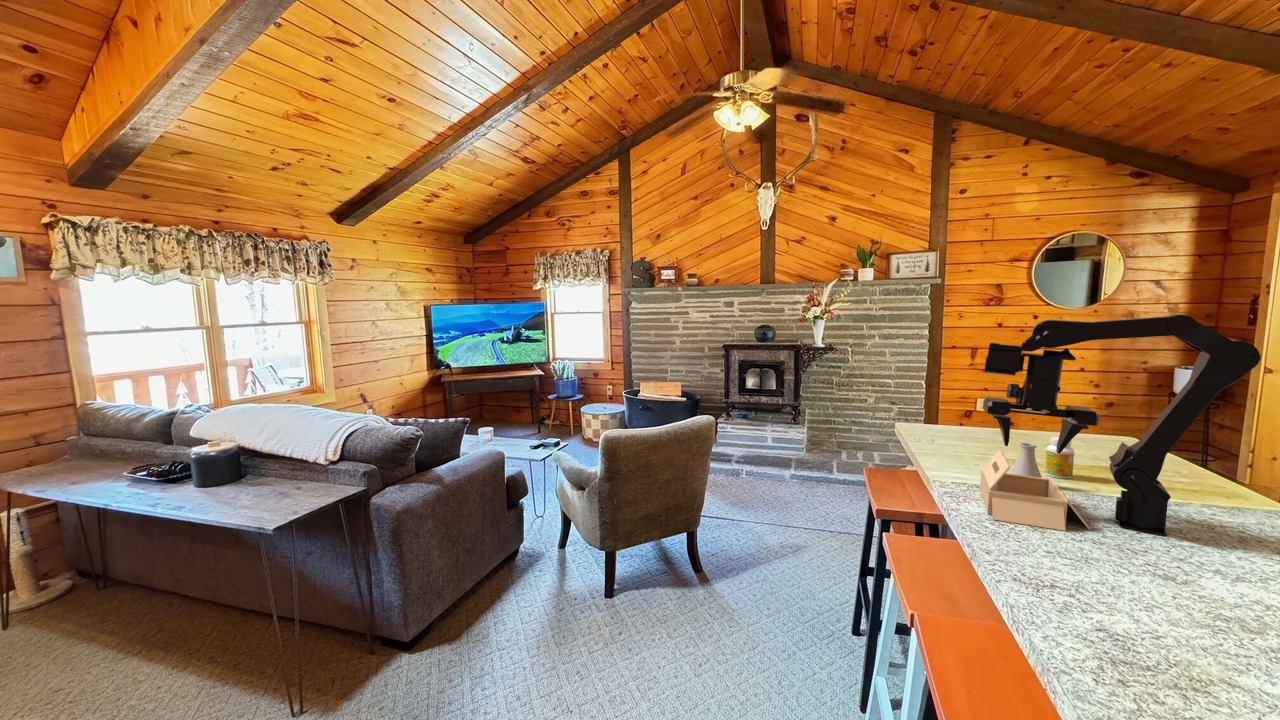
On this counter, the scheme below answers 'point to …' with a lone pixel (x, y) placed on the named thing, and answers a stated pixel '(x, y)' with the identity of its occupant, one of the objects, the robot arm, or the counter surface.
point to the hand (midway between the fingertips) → (1031, 449)
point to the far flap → (996, 468)
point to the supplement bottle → (1059, 460)
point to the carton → (1027, 501)
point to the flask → (1026, 461)
